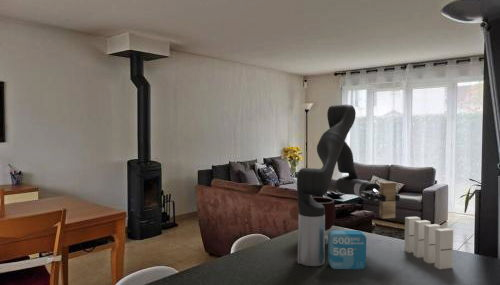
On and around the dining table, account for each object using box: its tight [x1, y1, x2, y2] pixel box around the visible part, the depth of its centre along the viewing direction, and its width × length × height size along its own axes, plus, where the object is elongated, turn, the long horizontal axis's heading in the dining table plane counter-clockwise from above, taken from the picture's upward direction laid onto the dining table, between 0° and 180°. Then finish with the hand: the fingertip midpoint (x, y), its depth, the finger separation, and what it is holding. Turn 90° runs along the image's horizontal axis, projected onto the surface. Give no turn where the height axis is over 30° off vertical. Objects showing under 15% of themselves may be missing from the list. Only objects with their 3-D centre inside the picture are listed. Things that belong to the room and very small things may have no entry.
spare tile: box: [378, 181, 397, 220], centre depth 138 cm, size 2×5×13 cm, turn 103°
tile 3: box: [413, 219, 431, 259], centre depth 138 cm, size 2×5×13 cm, turn 103°
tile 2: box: [403, 216, 422, 254], centre depth 143 cm, size 2×5×13 cm, turn 103°
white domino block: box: [423, 223, 442, 264], centre depth 132 cm, size 2×5×13 cm, turn 103°
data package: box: [327, 229, 367, 270], centre depth 128 cm, size 12×4×12 cm, turn 88°
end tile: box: [434, 227, 454, 270], centre depth 127 cm, size 2×5×13 cm, turn 103°
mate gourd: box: [310, 195, 337, 246], centre depth 157 cm, size 16×14×20 cm
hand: (391, 198), depth 135 cm, fingers closed on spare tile, 5 cm apart
